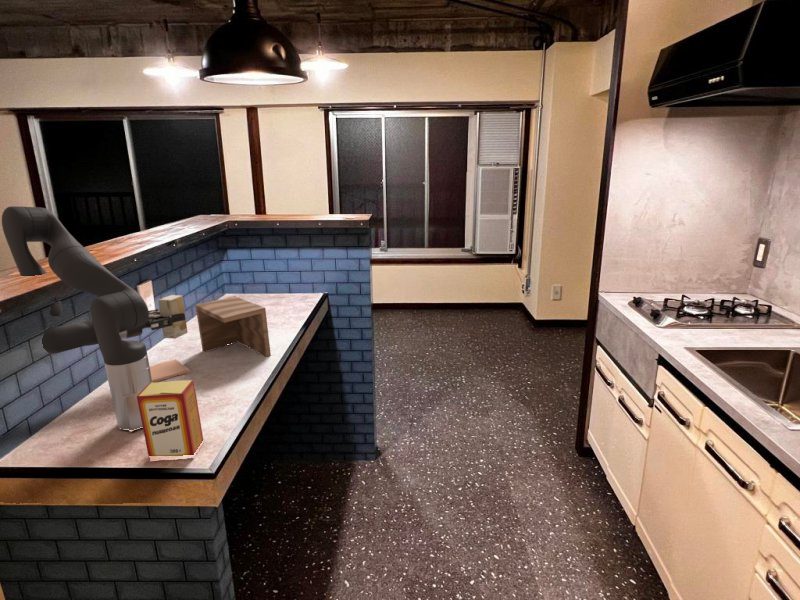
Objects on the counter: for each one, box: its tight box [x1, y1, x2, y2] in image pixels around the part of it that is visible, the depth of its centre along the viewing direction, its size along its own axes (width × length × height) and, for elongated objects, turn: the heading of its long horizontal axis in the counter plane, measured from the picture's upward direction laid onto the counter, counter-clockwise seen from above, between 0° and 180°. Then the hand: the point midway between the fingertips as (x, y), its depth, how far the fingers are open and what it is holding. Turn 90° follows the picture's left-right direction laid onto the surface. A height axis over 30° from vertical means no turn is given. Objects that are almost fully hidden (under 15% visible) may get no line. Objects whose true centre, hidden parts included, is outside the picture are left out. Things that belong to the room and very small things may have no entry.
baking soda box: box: [137, 379, 204, 457], centre depth 109 cm, size 10×6×16 cm
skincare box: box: [157, 294, 189, 340], centre depth 152 cm, size 6×4×12 cm
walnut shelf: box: [195, 296, 272, 358], centre depth 165 cm, size 22×14×16 cm, turn 43°
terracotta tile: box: [149, 359, 191, 383], centre depth 154 cm, size 12×12×1 cm
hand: (180, 313), depth 153 cm, fingers closed on skincare box, 7 cm apart
